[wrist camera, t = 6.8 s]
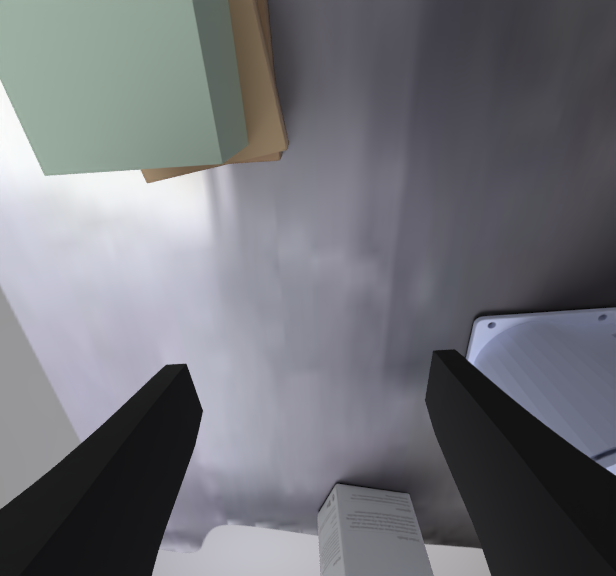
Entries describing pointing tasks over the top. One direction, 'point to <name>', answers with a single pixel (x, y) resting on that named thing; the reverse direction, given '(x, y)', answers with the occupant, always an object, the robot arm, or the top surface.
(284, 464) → the top surface
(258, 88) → the tower top
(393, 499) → the skincare box
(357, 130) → the top surface
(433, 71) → the top surface
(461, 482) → the robot arm
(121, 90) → the block
